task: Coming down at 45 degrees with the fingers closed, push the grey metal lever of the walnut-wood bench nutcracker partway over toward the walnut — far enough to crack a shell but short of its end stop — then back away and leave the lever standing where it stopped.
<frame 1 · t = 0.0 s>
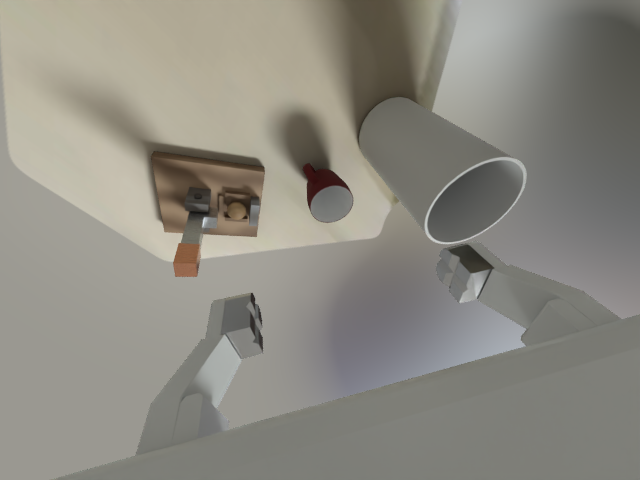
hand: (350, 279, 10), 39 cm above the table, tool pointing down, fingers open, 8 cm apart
lever: (199, 237, 40), point 12 cm above the table, hinge at 0.0°
walnut: (236, 205, 49), point 2 cm above the table, touching bench
bench: (213, 197, 49), on the table
cylinder vase: (388, 131, 48), on the table
mug: (315, 173, 50), on the table
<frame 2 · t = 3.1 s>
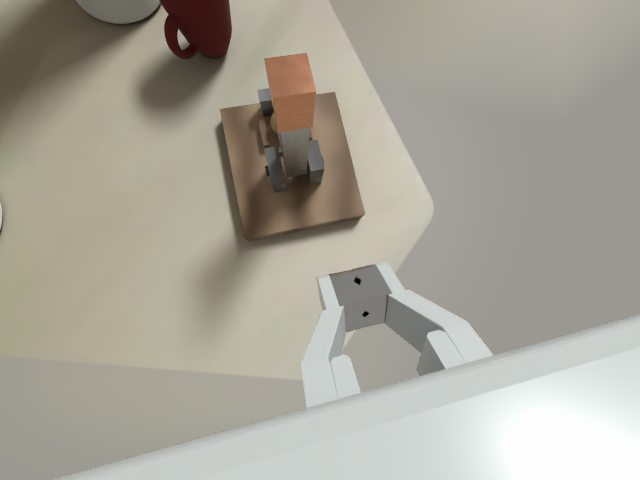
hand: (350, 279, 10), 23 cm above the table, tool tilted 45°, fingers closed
lever: (291, 125, 23), point 12 cm above the table, hinge at 0.0°
walnut: (285, 130, 33), point 2 cm above the table, touching bench
bench: (292, 167, 35), on the table
mug: (211, 54, 36), on the table
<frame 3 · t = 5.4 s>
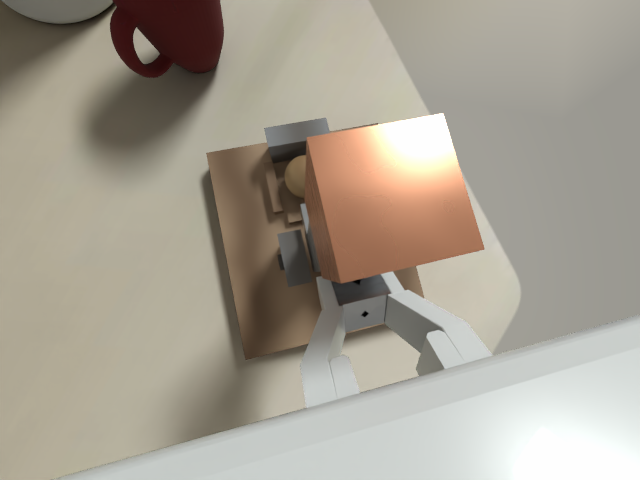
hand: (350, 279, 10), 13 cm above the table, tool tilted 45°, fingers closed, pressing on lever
lever: (334, 222, 12), point 12 cm above the table, hinge at 0.9°, touching gripper
walnut: (305, 184, 22), point 2 cm above the table, touching bench
bench: (315, 235, 24), on the table
mug: (195, 67, 25), on the table
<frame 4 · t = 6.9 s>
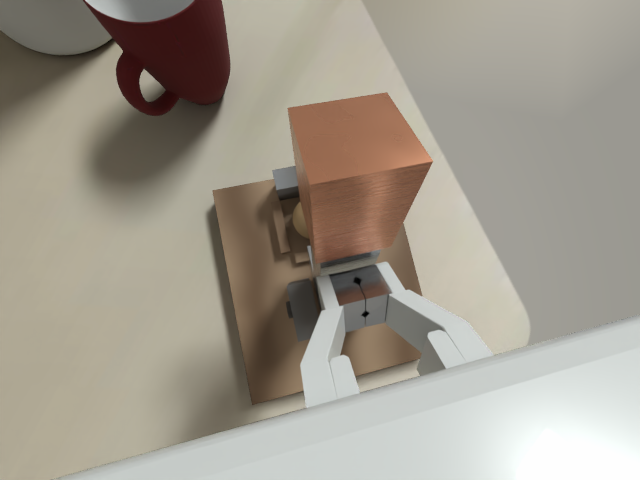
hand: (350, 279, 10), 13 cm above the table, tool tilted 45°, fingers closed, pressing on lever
lever: (334, 242, 12), point 11 cm above the table, hinge at 23.9°, touching gripper
walnut: (313, 222, 22), point 2 cm above the table, touching bench
bench: (322, 271, 23), on the table
cylinder vase: (70, 5, 25), on the table
mug: (200, 98, 25), on the table
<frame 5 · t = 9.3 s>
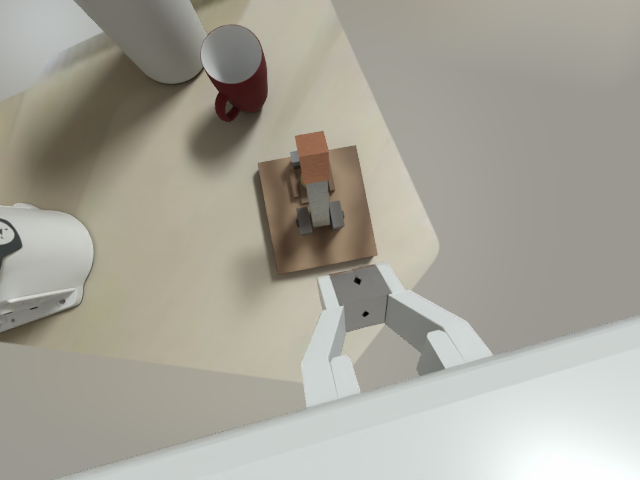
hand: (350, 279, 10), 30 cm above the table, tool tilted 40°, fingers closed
lever: (315, 183, 30), point 11 cm above the table, hinge at 23.9°
bench: (317, 211, 41), on the table
cylinder vase: (174, 51, 42), on the table
mug: (249, 108, 42), on the table
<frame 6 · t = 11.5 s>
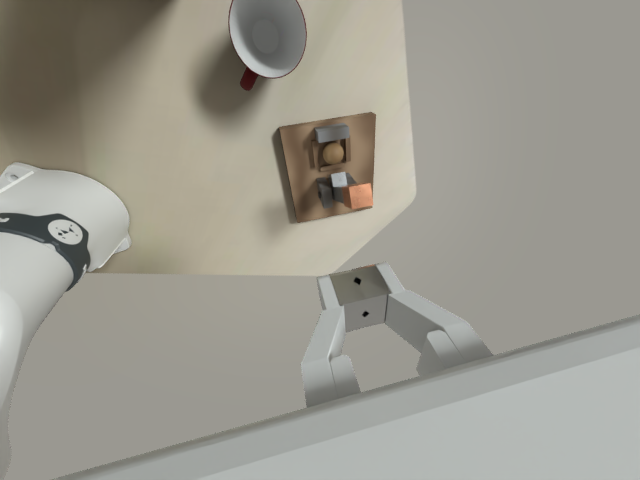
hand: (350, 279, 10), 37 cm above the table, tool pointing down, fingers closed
lever: (346, 187, 37), point 11 cm above the table, hinge at 23.9°
walnut: (330, 150, 43), point 2 cm above the table, touching bench
bench: (329, 170, 47), on the table
mug: (262, 47, 34), on the table
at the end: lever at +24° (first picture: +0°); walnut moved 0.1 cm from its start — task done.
